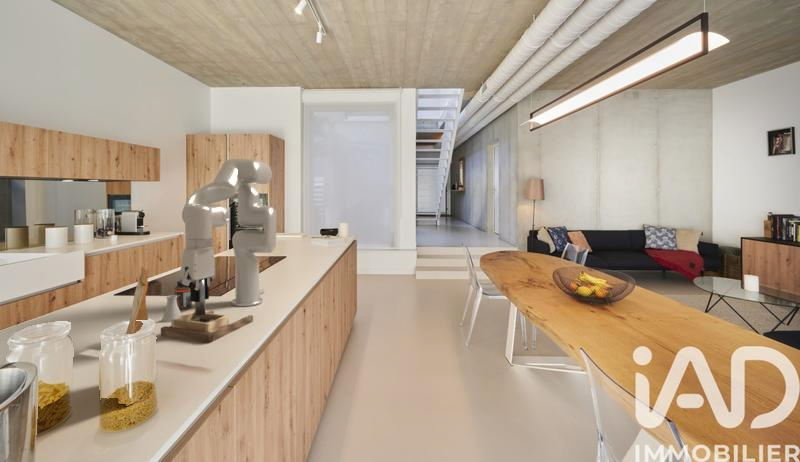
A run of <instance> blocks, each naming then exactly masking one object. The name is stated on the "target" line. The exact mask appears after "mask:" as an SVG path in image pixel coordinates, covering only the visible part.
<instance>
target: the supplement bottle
mask: <svg viewBox="0 0 800 462" xmlns="http://www.w3.org/2000/svg"><path fill="white" fill-rule="evenodd" d="M174 295H176V296H177V305H178V308H179V310H180V311H183V310H189V309H190V308H192V306H193V305H192V303H193V302H191V297H190V290H189V288H188V287H187V286H186V285H183V284H182V279H181V280H178V281H177V282H176V286H175V287H174Z"/></svg>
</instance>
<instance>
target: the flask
mask: <svg viewBox="0 0 800 462" xmlns="http://www.w3.org/2000/svg"><path fill="white" fill-rule="evenodd" d="M165 298H166V300H167V304H166V308H165V311H164V313H163V316H162V319H161V322H163V323H171V319H174V318H177V317H180V316H182V314H183V313H182V312H181V310H179V308H178V305H177V296H176V295H175V294H174V295H167V296H166V297H165Z"/></svg>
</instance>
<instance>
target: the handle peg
mask: <svg viewBox="0 0 800 462" xmlns="http://www.w3.org/2000/svg"><path fill="white" fill-rule="evenodd" d="M193 284H195V282H193ZM198 290H200V302H194V312H195V315H204V314H205V313H206V299H205V279H201V280H199V289H198Z"/></svg>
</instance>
